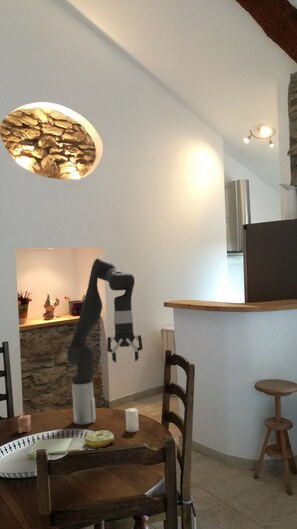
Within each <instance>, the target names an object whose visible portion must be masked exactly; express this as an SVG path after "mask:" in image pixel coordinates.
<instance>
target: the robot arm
mask: <svg viewBox="0 0 297 529" xmlns="http://www.w3.org/2000/svg"><path fill="white" fill-rule="evenodd" d="M98 279H100V280H102V281H105V282H108V286H109V289H110V290H112V291H124V293H123V294H122V295H119V296H116V297H114V300H113V303H114V306H113V307H114V315H113V316H114V318H113V322H114V336H107V348H106V349H107V350H106V351H107V352H108V353H111V354H112V355H111V356H112V361H113V362H114V363H117V352H116V351H117V350H118V348H119V347H120V348H123V347H126V348H129V347H131V348H132V349H133V350H134V361H135V362H137V361H138V360H139V351H142V350H143V341H142V335H141V334H138V335H134V320H133V319H134V318H133V312H132V311H133V310H132V296H133V291H134V286H135V277H134V275H133V274H132V273H130V272H122V271H121V270H120V269H118V268H117V266H116V264H114V263H113V262H111V261H107V260H105V259H102V258H95V260H94V261H93V264H92V266H91V270H90V274H89V280H88V283H87V284H88V285H87V289H86V293H85V296H84V299H83V303H82V307H81V310H80V314H79V319H78V322H77V325H76V328H75V332H74V334H73V337H72V339H71V342H70V344H69V347H68V349H67V354H66V360H67V362H68V364H69V365H70V366H74V367H77V373H76V374H74V375H72V377H71V390H72V411H73V423H74V424H76V425H89V424H92V423H95V422H96V402H95V401H96V400H95V395H94V383H93V382H94V375H95V354H94V351H93V348H92V347H90V346H89V345H88V346H87V345H86V342H87V339H88V337H89V336H90V334H91V332H92V331H93V330H94V329H95V327H96V326H97V325H98V323H99V321H100V318H101V314H102V311H103V302H102V299H101V296H100V292H99V289H98V288H99V287H98ZM135 339H136V341H137V342H138V347H137V345H135V343H134V341H135ZM113 340H114V342H115V343H116V344H115V345H114V347H113V348H112V343H113Z"/></svg>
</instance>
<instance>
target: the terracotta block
mask: <svg viewBox="0 0 297 529" xmlns="http://www.w3.org/2000/svg"><path fill="white" fill-rule="evenodd" d="M31 418H32V417H31V414H26V415H25V414H22V415H20V416H19V417H18V419H17V420H18V422H17V423H18V425H17V426H18V433H19V434H23V433H22V432H28V433H30V431H31V430H32V422H31V420H32V419H31Z"/></svg>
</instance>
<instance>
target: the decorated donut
mask: <svg viewBox="0 0 297 529" xmlns="http://www.w3.org/2000/svg"><path fill="white" fill-rule="evenodd" d="M114 440H115V436H114V434H113V433H112V432H111V431H109V430H96V431H92V432H89V433H87V434H86V435H85V437H84V443H85V444H86V445H87V446H88V447H90V448H93V449H98V448H99V449H100V448H105V447H107V446H109V445H110V444H111V443H112V442H113V441H114Z"/></svg>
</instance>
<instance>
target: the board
mask: <svg viewBox="0 0 297 529" xmlns="http://www.w3.org/2000/svg"><path fill="white" fill-rule="evenodd" d="M73 440H74V438H73V437H69V438H68V437H65V438H49V439H36V441H35V442H34V444H33V445H32V446H31V448H30V449H29V451H27V456H36V455H35V452H36V450H37V449H45V448H46V449H48V453H50V452H60V451H67V450H68V449H70V448H71V446H72V443H73V442H74V441H73ZM69 447H70V448H69ZM68 451H69V450H68Z"/></svg>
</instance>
